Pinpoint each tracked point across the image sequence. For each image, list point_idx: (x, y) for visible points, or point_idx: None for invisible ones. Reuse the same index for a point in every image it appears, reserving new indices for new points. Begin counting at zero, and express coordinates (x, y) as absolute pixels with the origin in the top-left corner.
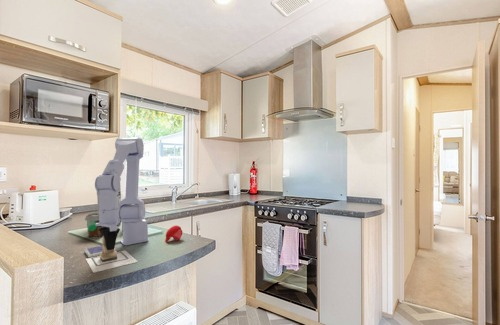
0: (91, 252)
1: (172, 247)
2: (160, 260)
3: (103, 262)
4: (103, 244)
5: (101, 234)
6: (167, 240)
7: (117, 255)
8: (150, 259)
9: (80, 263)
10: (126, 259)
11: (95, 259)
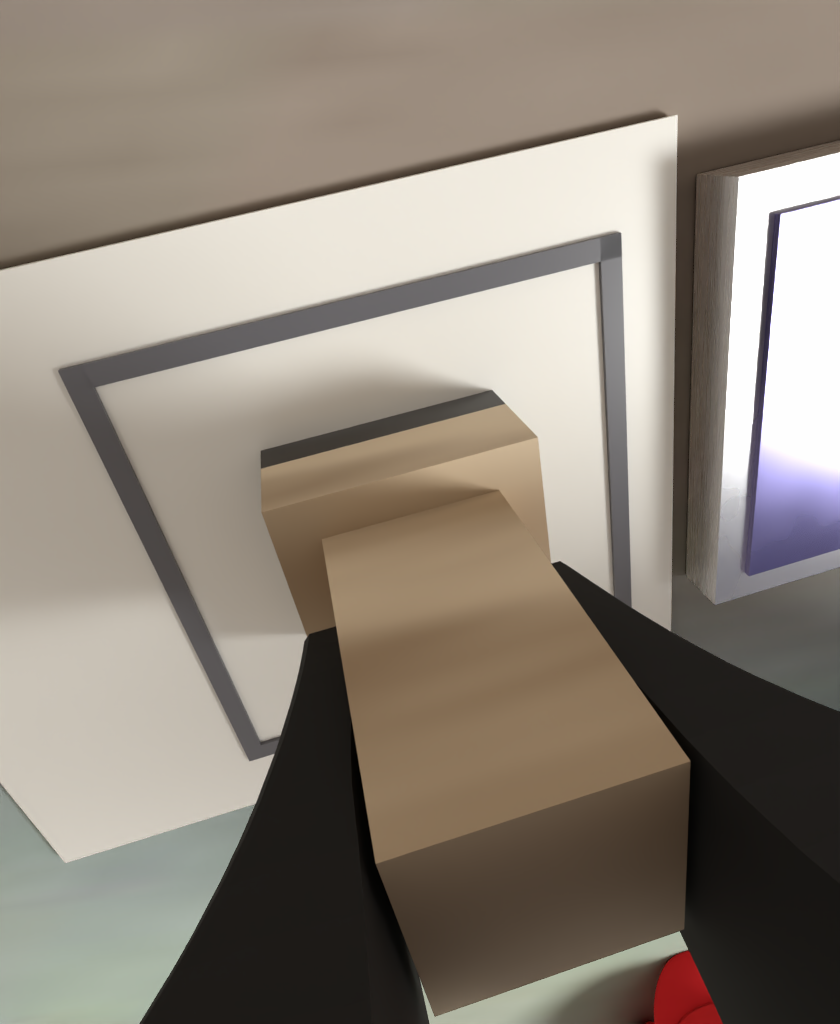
0: (834, 228)
1: (458, 1021)
2: (45, 1015)
3: (236, 466)
4: (443, 630)
5: (801, 748)
6: (664, 992)
7: None
8: (130, 939)
9: (451, 19)
10: (232, 739)
11: (496, 316)
